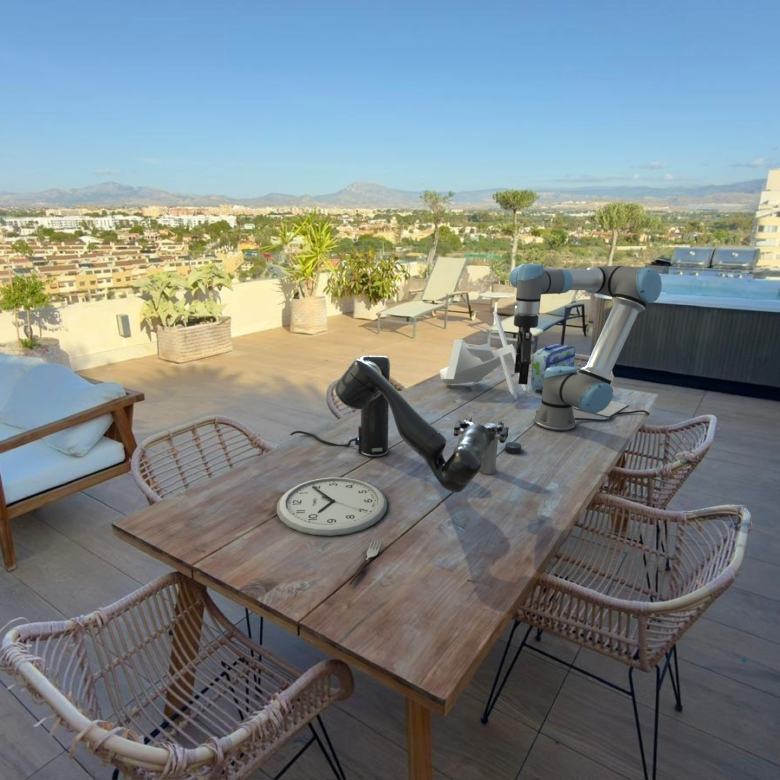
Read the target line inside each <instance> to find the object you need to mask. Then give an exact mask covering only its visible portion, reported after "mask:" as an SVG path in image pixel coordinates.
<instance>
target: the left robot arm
mask: <svg viewBox="0 0 780 780" xmlns="http://www.w3.org/2000/svg"><path fill="white" fill-rule="evenodd" d="M390 375H391V361H390V358H389V357H388V356H385V355H363V356H360V357H359V358H357V359H354V361H352V363H351V364H350V365H349V367H347V369H346V370H345V372H344V373H343V374H342V375H341V377H340V378H339V379H338V380H337V381H336V384H335V386H334V391H335V394H336V397H337V398H338V400H339V401H340V402H341V403H342V404H343V405H345V406H346V407H348V408H350V409H353V410H360V425H358V430H357V431H358V432H357V433H358V435H356V436H355V437H354V438H351V439H349V441H348V442H347V443H345V444H339V443H334V442H331V441H327V440H324V439H321V438H320V437H319V436H317V435H316V434H314V433H311V432H306V431H302V430H295V431H292V432H291V433H290V434H289V436H293V435H295V434H303V435H306V436H310V437H314V438H315V439H316V440H317V441H319V442H321V443H323V444H326V445H329V446H333V447H349V446H350V445H351V443H352V442H354V445H355V446H358V454H362V455H363V456H366V457H369V458H371V457H372V458H379V457H383V456H386V455H387V454H389V418H390V417H389V415H390V414H389V411H391V413H392V417H393V420H394V423H395V426H396V429H397V431H398V434H399V436H400V438H401V439H402V440H403V441H404V443H405V444H406V445H407V446H408V447H409V448H410V449H412V450H413V451H414V452H415V453H416V454H417V455H419V457H421V458H422V459H423V460H424V462H425V463H426V465H427V466H428V468H429V469H430V470H431V472H432V474H433V475H434V477H435V479H437V481H438V483H439V484H440V485H441V486H442V487H443V488H444V489H445V490H447V491H448V492H451V493H455V494H456V493H461V492H463V491H464V490H465V489H466V487H467V486H468V485H469V484H470V483H471V482H472V480H473V479H475V478H476V476H477V475H478V474H479V472H480V469H481V467H482V458H483V457H484V456H485V454H486V452H487V450H488V448H489V446H490V444H491V441H493V440H494V439H497V440H498V442H499V443H500V444H505V442H506V441H507V439H508V437H509V430H510V427H508V426H504V425H505V424H504V422H503V421H502V420H499V421H498V423H497V426H494V425H491V426H487V427H486V426H484V425H482V424H479V423H473V416H469V417H468V418H466V419H465V420H463V421H462V420H461V419H460V420H459V419H458V420H456V422H455V424H454V426H453V436H454V437H458V436H459V438H458V441H457V443H456V446H455V447H454V449H453V452H452V454H451V455H450V456H449V458H447V460H445V458H444V451H445V448H446V446H447V443H448V442H447V441H448V440H447V439H446V437H445V436H444V435H443V434H441V432H439V431H438V430H437V428H435V427H434V426H433V425H431V424H430V423H429V422H428V421H427V420H426V419H425V418H423V417H422V416H421V414H419V413H418V412H417V411H416V410H415V409H414V408H413V406H412V405H411V404H410V403H409V402H408V400H406V399H405V398H404V396H403V395H402V394H401V392H399V391H398V390H397V389H396V388H395V387H394V385H392V384H391V383H390V377H391V376H390ZM389 409H390V410H389ZM491 429H492V430H491ZM460 435H461V436H460Z"/></svg>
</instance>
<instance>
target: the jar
mask: <svg viewBox="0 0 780 780" xmlns="http://www.w3.org/2000/svg"><path fill="white" fill-rule="evenodd" d="M491 425H494V426H498V424H495V423H489V422H488V423H485V424H484V425H483V426H486V427H487V426H491ZM491 430H492V429H491ZM498 444H499V440H497V439H494V440H493V441H491V444H490V446H489V448H488V450H487V452H486V454H485V456H484V457H483V458H482V467H481V469H480V470H479V472H480V473H482V474H484V475H494V474H495V473H496V469H497V468H496V467H497V457H498V456H497V455H498Z"/></svg>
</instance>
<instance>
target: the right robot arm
mask: <svg viewBox="0 0 780 780" xmlns="http://www.w3.org/2000/svg"><path fill="white" fill-rule="evenodd" d="M509 283H510V285H511V286H512V287H513V288H514V289H515V288H516V294H515V302H514V303H513V306H514V308H515V309H514V312H515V314H514V316H513V317H514V318H513V325H514V327H517V328H518V331H517V339H516V343H515V344H516V345H515V349H516V353H517V354H516V359H515V363H514V374H518V373H519V376H518V385H521V384H526V385H527V386H528V381H529V373H530V365H531V364H532V360H531V357H532V337H533V333H532V332H531V329H533V328H537V327H538V326H539V319H540V317H539V315H538V314H540V311H541V310H540V309H541V298H542V295H560V294H561V295H562V294H566V293H568V292H569V291H585V292H586V293H588V294H595V295H596V294H597V295H602V296H606V297H610V298H611V301H612V304H613V306H612V308H611V310H610V312H609V315H608V316H607V319H606V321H605V323H604V325H603V328H602V330H601V332H600V335H599V336H598V339H597V341H596V343H595V346H594V348H593V350H592V351H591V355H590V356H589V359H588V361H587V363H586V365H585V366H583V367H581V368H580V369H579V370H578V369H577V367H575V366H574V367H568V366H555V367H549V368H547V369H546V370H545V375H544V378H543V390H542V391H541V402H540V405H539V407H538V410H537V409H536V410H535V417H534V424H535V425H536V426H537V427H539V428H542V429H544V430H549V431H556V432H567V431H572V430H574V429H575V428H576V421H592V422H609V421H611V420H613V417H614V416H618V415H623V414H624V415H626V414H637V413H645V414H647V415H650V413H649V412H648V411H646V410H644V409H638V410H632V411H621V412H620V411H618V412H616V413H614V414H612V415H611V416H609V417H608V418H605V419H603V418H602V419H601V418H587V417H586V418H584V417H576V416H575V413H574V407H576V408H579V409H578V410H580V409H581V411H583V412H587V413H590V414H596V413H598V412H600V411H602V410H604V409H605V408H606V407H607V406H608V405H609V403H610V402H611V401H613V396H614V389H613V386H612V385H611V384H612V382H613V381H612V378H611V373H612V371H613V369H614V367H615V364H616V363H617V360H618V358H619V356H620V354H621V351H622V349H623V347H624V345H625V342H626V340H627V338H628V336H629V334H630V331H631V330H632V327H633V325H634V323H635V321H636V320H637V316H638V314H639V313H641V312H644V311H645V310H646V307H648V306H647V305H648V304H652V303H654V302H655V301H658V299H659V298H660V295H661V293H662V287H663V285H662V277H661V275H660V273H659V272H658V270H656V269H654V268H649V267H645V266H629V265H617V264H616V265H603V266H590V267H588V268H586V269H585V268H566V267H565V268H561V267H558V268H557V267H544V265H543V264H539V263H522V264H520V265H519V266H515V267H514V268H512V270H511V271H510V273H509ZM576 408H575V409H576Z"/></svg>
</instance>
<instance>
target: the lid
mask: <svg viewBox="0 0 780 780" xmlns="http://www.w3.org/2000/svg"><path fill="white" fill-rule="evenodd" d="M504 444H505V445H504V451H505V452H506V453H508V454H510V455H517V454H521V452H522V444H521V443H519V442H515V441H509V442H506V443H504Z"/></svg>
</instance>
